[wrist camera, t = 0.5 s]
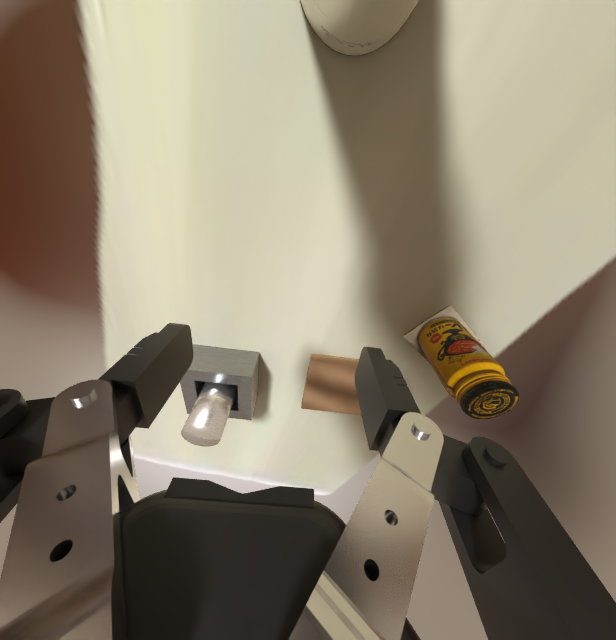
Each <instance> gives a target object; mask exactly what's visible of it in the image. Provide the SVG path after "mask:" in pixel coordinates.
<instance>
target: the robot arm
mask: <svg viewBox="0 0 616 640" xmlns="http://www.w3.org/2000/svg"><path fill="white" fill-rule="evenodd" d="M300 1H301V4H302V7H303V9H304V12H305V15H306V17H307V19H308V21H309V23H310V25H311V26H312V28H313V30H314V31H315V33H316V34H317V35H318V36H319V38H320V39H321V40H322V41H323V42H324V43H325V44H326V45H328V46H329V47H331V48H332V49H333V50H335V51H337V52H340V53H343V54H346V55H362V54H366V53H370V52H372V51H374V50H376V49H378V48H379V47H381V46H383V45H384V44H385V43H386V42H388V41H389V40H390V39H391V38H392V37H393V36H394V35H395V34H396V33H397V32H398V30H399V29H400V28H401V27H402V25H403V24H404V23H405V21H406V20H407V19H408V17H409V16H410V14H411V12H412V11H413V9H414V8H415V6H416V5H417V3H418V2H419V0H300ZM193 354H194V353H193V345H192V337H191V330H190V327H189V325H183V324H175V323H169V324H167V325H166V326H165V327H164V328H163V329H162V330H161V331H160V332H159V333H153V334H151V335H149V336H147V337H145V338H143V339H142V340H141V341H140V342H139V343H138V344H137V345H135V346H134V348H132V349H131V350H130V351H129V352H128V353H127V355H124V356H123V357H122V358H121V359H120V360H119V361H118V362H117V363H116V364H114V365H113V366H112V367H111V368H110V369H109V370H108V371H107V372H106V373H105V374H103V375H102V376H101V377H100V378H99V379H98V380H88V381H84V382H80V383H77V384H75V385H73V386H70V387H69V388H67V389H65V390H64V391H62V392H61V393H59V394H58V395H57V396H56V397H53V398H45V399H37V400H29V401H25V399H24V398H23V396H22V395H21V393H20V392H19V391H17V390H13V389H1V390H0V522H1V521H2V520H3V519H4V518H5V517H6V516H7V514H8V513H9V512H10V511H11V510H12V509H13V507H14V506H15V505H16V504H17V507H16V512H15V516H14V521H13V525H12V529H11V534H10V538H9V542H8V547H7V551H6V556H5V560H4V564H3V569H2V573H1V577H0V640H421V639H420V638H419V636H418V635H417V633H416V632H415V630H414V629H413V627H412V625H411V624H410V622H409V621H408V620H407V618H406V615H407V610H408V607H409V602H410V598H411V594H412V590H413V586H414V582H415V578H416V574H417V570H418V565H419V561H420V557H421V553H422V549H423V545H424V541H425V537H426V533H427V529H428V525H429V520H430V516H431V512H432V508H433V504H434V499H435V500H438V501H439V503H440V506H441V509H442V512H443V515H444V517H445V520H446V523H447V526H448V529H449V531H450V534H451V537H452V540H453V543H454V545H455V548H456V551H457V554H458V556H459V559H460V562H461V565H462V567H463V570H464V573H465V576H466V579H467V582H468V584H469V587H470V590H471V592H472V596H473V598H474V601H475V604H476V607H477V609H478V612H479V615H480V618H481V621H482V623H483V626H484V629H485V632H486V635H487V637H488V640H616V603H615V601H614V600H613V598H612V597H611V595H610V594H609V593H608V591H607V590H606V589H605V587H604V585H603V584H602V582H601V581H600V580H599V578H598V577H597V576H596V574H595V573H594V571H593V570H592V569H591V567H590V565H589V564H588V563H587V561H586V560H585V558H584V557H583V555H582V554H581V552H580V551H579V550H578V548H577V547H576V545H575V544H574V542H573V541H572V540H571V538H570V537H569V535H568V534H567V533H566V531H565V530H564V528H563V527H562V525H561V524H560V522H559V521H558V520H557V518H556V517H555V515H554V514H553V513H552V511H551V509H550V508H549V507H548V505H547V504H546V502H545V501H544V499H543V498H542V497H541V495H540V494H539V492H538V491H537V489H536V488H535V487H534V485H533V484H532V482H531V481H530V480H529V478H528V477H527V475H526V474H525V472H524V471H523V470H522V468H521V467H520V465H519V464H518V462H517V461H516V460H515V458H514V457H513V456H512V455H511V454H510V453H509V452H508V451H507V450H506V449H505V448H503V447H502V446H501V445H499V444H498V443H496V442H494V441H492V440H490V439H488V438H484V437H475V438H473V439H472V440H471V441H470V442H469V443H468V444H466V443H463V442H461V441H458V440H456V439H453V438H450V437H448V436H445V435H443V434H442V432H441V430H440V429H439V427H438V426H437V425H436V424H435V423H434V422H433V421H432V420H431V419H429V418H428V417H426V416H424V415H422V414H421V413H420V411H419V409H418V407H417V405H416V403H415V401H414V399H413V396H412V394H411V392H410V390H409V388H408V387H407V384H406V382H405V380H404V379H403V376H402V374H401V372H400V370H399V368H398V367H397V366H396V365H395V364H394V363H393V362H392V361H391V360H386V359H385V356H384V354H383V352H382V350H381V349H380V348H372V347H364V348H363V349H362V352H361V355H360V359H359V362H358V365H357V368H356V371H355V387H356V392H357V396H358V401H359V405H360V409H361V414H362V418H363V423H364V427H365V432H366V436H367V441H368V445H369V450H376V451H379V452H380V456H381V459H380V461H379V463H378V465H377V467H376V468H375V470H374V472H373V474H372V476H371V478H370V480H369V482H368V484H367V486H366V488H365V490H364V492H363V494H362V496H361V498H360V500H359V502H358V504H357V506H356V508H355V510H354V512H353V514H352V516H351V518H350V520H349V522H348V523H347V525H346V524H345V523H344V522H343V521H342V520H341V519H340V518H339V517H338V516H337V515H336V514H335V513H334V512H333V511H331V510H330V509H329V508H328V507H326V506H324V505H322V504H321V503H319V502H317V501H314V489H308V488H295V487H283V486H279V487H274V488H269V489H265V490H260V491H255V492H250V493H245V494H241V493H238V492H236V491H233V490H231V489H228V488H226V487H223V486H221V485H219V484H216V483H214V482H211V481H209V480H197V479H185V478H173V479H172V481H171V483H170V485H169V487H168V489H167V490H163V491H160V492H157V493H154V494H152V495H149V496H147V497H145V498H143V499H140V495H139V491H138V487H137V482H136V474H135V465H134V457H133V449H132V440H131V436H130V434H131V433H132V431H133V430H134V429H135V427H140V428H149V427H150V425H151V424H152V422H153V421H154V419H155V418H156V416H157V415H158V413H159V412H160V410H161V409H162V407H163V406H164V404H165V403H166V401H167V400H168V398H169V397H170V395H171V394H172V392H173V391H174V389H175V388H176V386H177V385H178V383H179V382H180V381H181V379H182V378H183V376H184V375H185V373H186V372H187V370H188V369H189V367H190V366H191V363H192V361H193ZM487 508H488V509H489V511H490V513H491V515H492V517H493V519H494V521H495V523H496V525H497V527H498V529H499V531H500V533H501V535H502V537H503V539H504V541H503V539H502V537H501V535H500V533H499V531H498V529H497V527H496V525H495V523H494V521H493V519H492V517H491V515H490V513H489V511H488V509H487ZM504 542H505V543H504Z"/></svg>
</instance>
